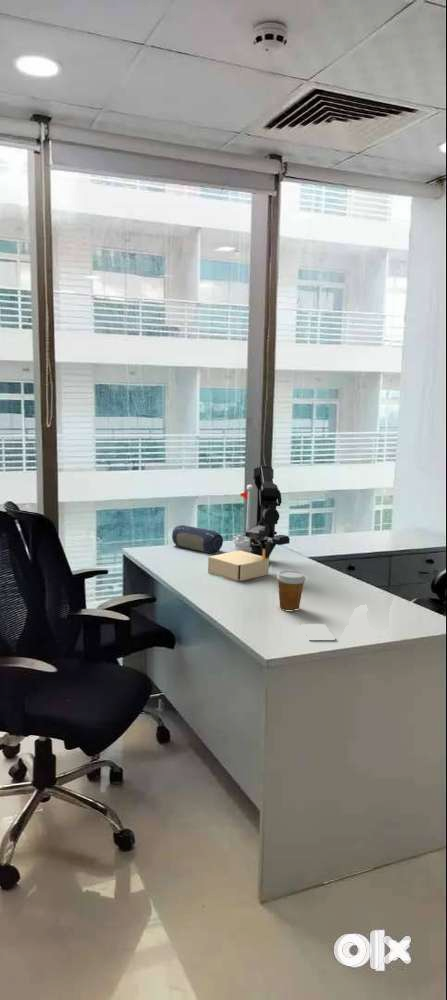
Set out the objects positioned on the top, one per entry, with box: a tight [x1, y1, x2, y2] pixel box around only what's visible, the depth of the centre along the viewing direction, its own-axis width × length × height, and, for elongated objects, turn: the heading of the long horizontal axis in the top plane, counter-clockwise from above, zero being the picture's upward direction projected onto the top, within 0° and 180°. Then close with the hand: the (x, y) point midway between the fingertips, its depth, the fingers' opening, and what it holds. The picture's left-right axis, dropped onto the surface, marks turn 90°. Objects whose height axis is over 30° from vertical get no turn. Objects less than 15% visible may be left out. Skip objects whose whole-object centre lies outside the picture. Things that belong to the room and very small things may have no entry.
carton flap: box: [239, 548, 270, 582], centre depth 254 cm, size 16×1×11 cm, turn 135°
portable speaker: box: [171, 525, 224, 554], centre depth 297 cm, size 25×10×10 cm, turn 55°
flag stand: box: [232, 484, 254, 553], centre depth 301 cm, size 13×13×30 cm
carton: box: [207, 550, 270, 583], centre depth 260 cm, size 18×16×6 cm
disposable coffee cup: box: [276, 570, 306, 611], centre depth 219 cm, size 10×10×12 cm
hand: (266, 557), depth 258 cm, fingers closed
